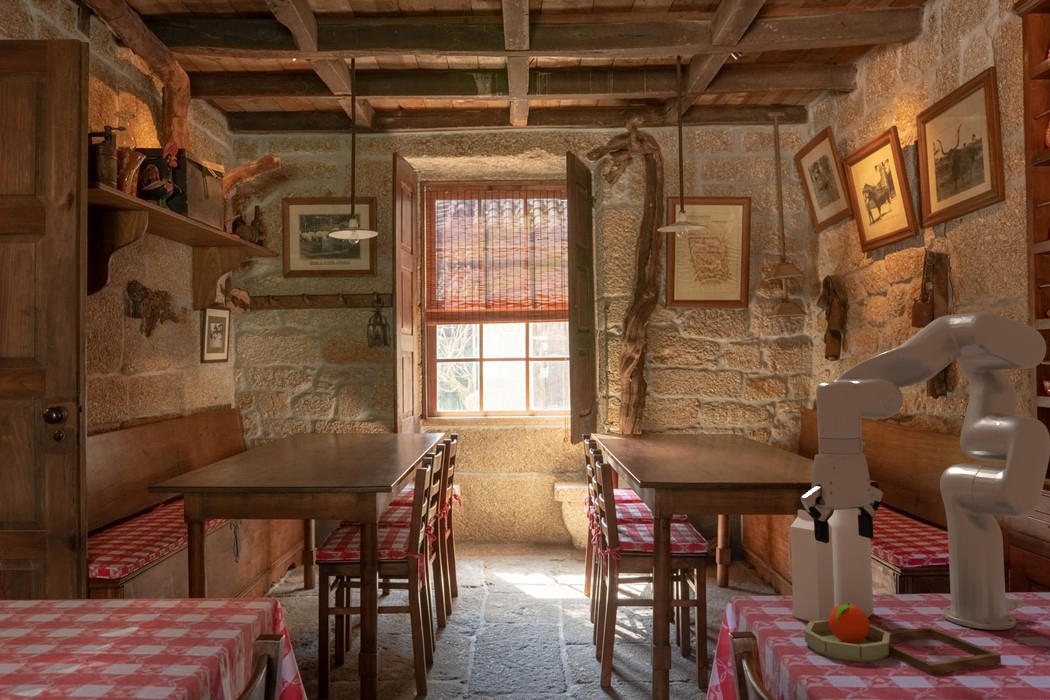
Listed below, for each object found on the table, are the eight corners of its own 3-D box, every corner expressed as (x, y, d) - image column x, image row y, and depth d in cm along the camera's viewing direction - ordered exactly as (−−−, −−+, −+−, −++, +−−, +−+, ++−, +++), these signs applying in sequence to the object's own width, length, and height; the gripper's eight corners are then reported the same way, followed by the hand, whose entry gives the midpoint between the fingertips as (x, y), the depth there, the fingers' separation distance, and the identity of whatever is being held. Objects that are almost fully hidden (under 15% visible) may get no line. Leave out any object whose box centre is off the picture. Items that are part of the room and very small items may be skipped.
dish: (852, 630, 142) (852, 616, 142) (907, 656, 128) (907, 640, 128) (791, 638, 138) (790, 623, 138) (841, 666, 124) (841, 649, 125)
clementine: (854, 653, 128) (853, 613, 128) (818, 642, 133) (817, 603, 134) (877, 643, 133) (876, 604, 133) (842, 633, 138) (840, 595, 138)
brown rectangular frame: (930, 634, 139) (930, 626, 139) (1001, 663, 124) (1000, 654, 124) (865, 643, 135) (865, 635, 135) (930, 674, 120) (930, 665, 120)
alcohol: (832, 618, 149) (826, 473, 150) (824, 605, 157) (819, 468, 159) (878, 621, 147) (872, 473, 148) (867, 607, 155) (862, 468, 157)
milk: (819, 624, 146) (815, 515, 146) (792, 617, 150) (789, 511, 151) (835, 618, 149) (831, 511, 150) (808, 610, 154) (805, 507, 155)
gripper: (864, 443, 141) (868, 531, 140) (787, 448, 136) (791, 539, 135) (893, 446, 133) (897, 539, 133) (813, 451, 129) (818, 547, 128)
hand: (844, 539), depth 134 cm, fingers open, 9 cm apart
